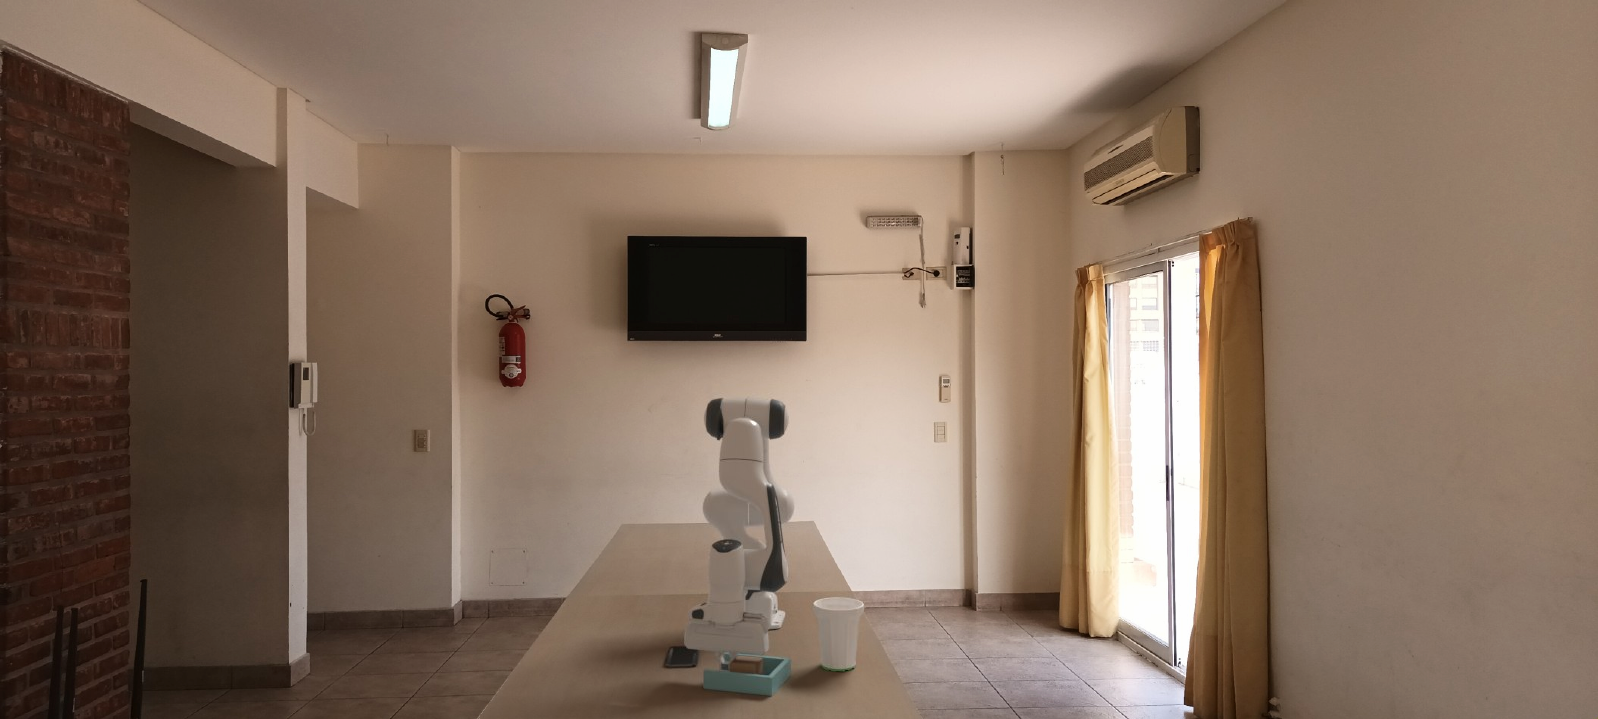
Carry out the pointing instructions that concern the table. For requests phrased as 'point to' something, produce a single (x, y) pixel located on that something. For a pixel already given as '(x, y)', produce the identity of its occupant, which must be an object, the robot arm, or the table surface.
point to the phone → (681, 657)
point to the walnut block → (747, 665)
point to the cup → (838, 631)
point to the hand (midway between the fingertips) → (726, 670)
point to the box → (750, 677)
